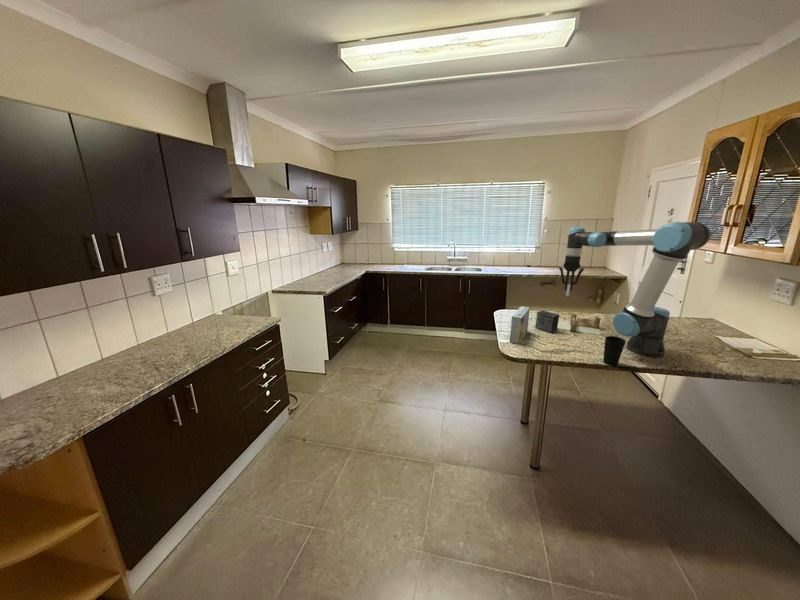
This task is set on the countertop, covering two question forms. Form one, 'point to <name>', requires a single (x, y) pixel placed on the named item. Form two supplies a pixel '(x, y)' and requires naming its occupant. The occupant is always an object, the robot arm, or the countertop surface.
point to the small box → (547, 321)
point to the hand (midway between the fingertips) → (567, 295)
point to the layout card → (577, 328)
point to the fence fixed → (586, 321)
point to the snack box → (519, 324)
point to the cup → (613, 350)
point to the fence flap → (573, 325)
